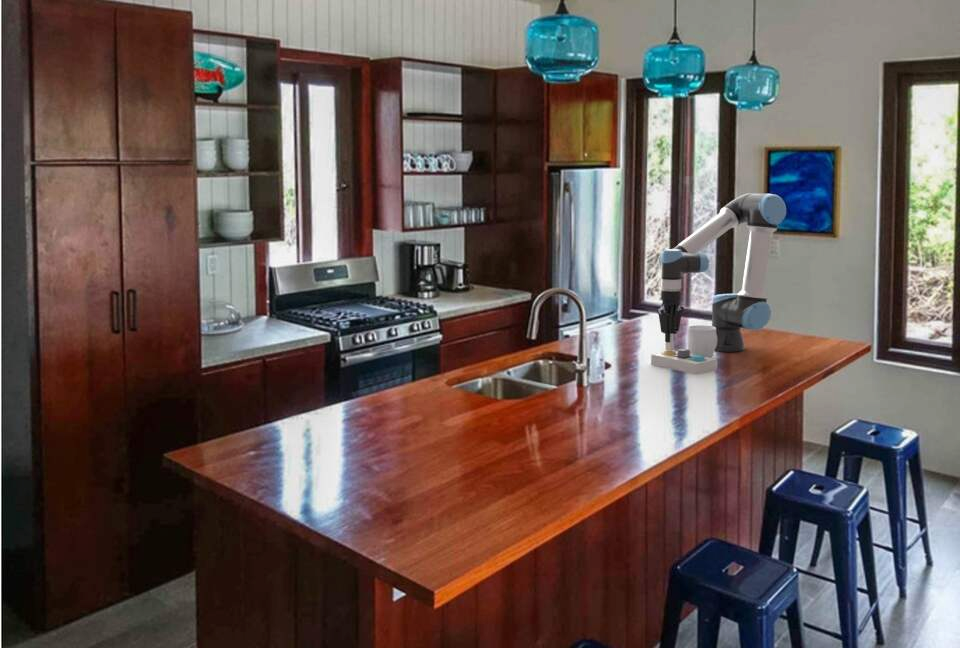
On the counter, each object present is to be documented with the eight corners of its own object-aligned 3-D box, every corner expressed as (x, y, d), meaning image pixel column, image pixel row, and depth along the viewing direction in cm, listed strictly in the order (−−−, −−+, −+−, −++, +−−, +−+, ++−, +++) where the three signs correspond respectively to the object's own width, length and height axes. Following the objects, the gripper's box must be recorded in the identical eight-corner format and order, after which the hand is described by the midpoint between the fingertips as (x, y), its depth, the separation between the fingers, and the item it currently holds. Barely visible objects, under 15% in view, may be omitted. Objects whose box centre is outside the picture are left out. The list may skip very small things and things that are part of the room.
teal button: (697, 364, 338) (697, 354, 337) (707, 367, 334) (707, 356, 334) (688, 366, 335) (688, 356, 335) (698, 368, 331) (698, 358, 331)
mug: (704, 354, 362) (705, 322, 360) (727, 358, 354) (728, 326, 352) (681, 359, 353) (681, 327, 351) (703, 364, 345) (704, 331, 342)
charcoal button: (682, 358, 343) (683, 348, 343) (692, 360, 340) (692, 350, 339) (674, 360, 341) (674, 350, 340) (684, 362, 337) (684, 352, 336)
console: (672, 360, 353) (672, 350, 352) (716, 369, 335) (716, 359, 335) (651, 364, 346) (651, 354, 345) (695, 374, 328) (695, 363, 328)
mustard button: (669, 358, 349) (669, 348, 348) (678, 360, 345) (678, 350, 345) (660, 360, 346) (660, 350, 346) (670, 362, 343) (670, 352, 342)
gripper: (675, 287, 348) (673, 346, 352) (651, 290, 340) (650, 350, 344) (690, 289, 342) (688, 349, 346) (666, 292, 334) (665, 353, 338)
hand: (669, 350), depth 345 cm, fingers closed
